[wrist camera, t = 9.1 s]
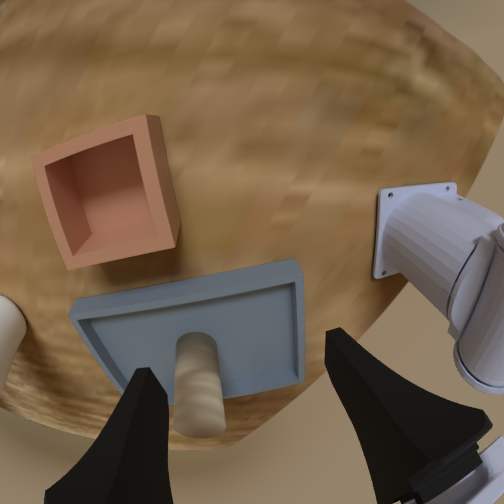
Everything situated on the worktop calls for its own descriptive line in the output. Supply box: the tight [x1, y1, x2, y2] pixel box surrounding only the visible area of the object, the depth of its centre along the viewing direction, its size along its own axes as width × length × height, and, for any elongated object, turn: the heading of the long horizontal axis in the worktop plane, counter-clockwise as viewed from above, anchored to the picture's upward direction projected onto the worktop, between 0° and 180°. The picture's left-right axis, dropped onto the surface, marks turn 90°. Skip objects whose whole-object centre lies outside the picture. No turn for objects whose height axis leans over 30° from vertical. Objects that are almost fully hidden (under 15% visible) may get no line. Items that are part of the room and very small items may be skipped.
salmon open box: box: [31, 114, 181, 270], centre depth 14 cm, size 7×7×4 cm
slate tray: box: [68, 258, 305, 406], centre depth 22 cm, size 18×13×2 cm
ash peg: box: [174, 332, 226, 438], centre depth 19 cm, size 4×4×8 cm
